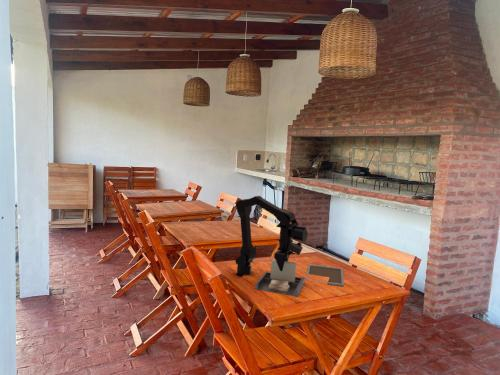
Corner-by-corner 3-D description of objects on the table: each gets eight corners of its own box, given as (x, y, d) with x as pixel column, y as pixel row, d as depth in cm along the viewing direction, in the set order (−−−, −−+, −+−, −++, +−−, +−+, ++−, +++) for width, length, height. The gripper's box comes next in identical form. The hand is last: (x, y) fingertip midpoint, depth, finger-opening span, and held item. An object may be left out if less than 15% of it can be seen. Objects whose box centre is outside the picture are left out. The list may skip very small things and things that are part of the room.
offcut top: (270, 285, 186) (270, 282, 186) (271, 282, 190) (271, 279, 190) (287, 287, 184) (287, 284, 184) (288, 284, 189) (288, 281, 189)
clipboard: (305, 280, 201) (308, 262, 230) (305, 283, 201) (308, 265, 230) (344, 284, 197) (342, 266, 226) (343, 288, 197) (342, 269, 227)
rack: (254, 291, 184) (255, 283, 184) (265, 278, 202) (265, 270, 202) (297, 298, 179) (297, 290, 178) (304, 284, 197) (304, 277, 196)
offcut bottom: (268, 288, 186) (268, 285, 186) (271, 284, 191) (271, 281, 191) (287, 291, 184) (287, 288, 184) (289, 288, 189) (289, 284, 188)
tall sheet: (269, 282, 195) (271, 260, 194) (270, 280, 197) (272, 259, 195) (293, 286, 191) (295, 264, 190) (294, 284, 193) (296, 262, 192)
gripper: (298, 244, 180) (295, 277, 182) (305, 235, 198) (302, 265, 200) (274, 240, 183) (272, 273, 185) (283, 232, 201) (281, 262, 203)
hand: (283, 268), depth 193 cm, fingers open, 9 cm apart
